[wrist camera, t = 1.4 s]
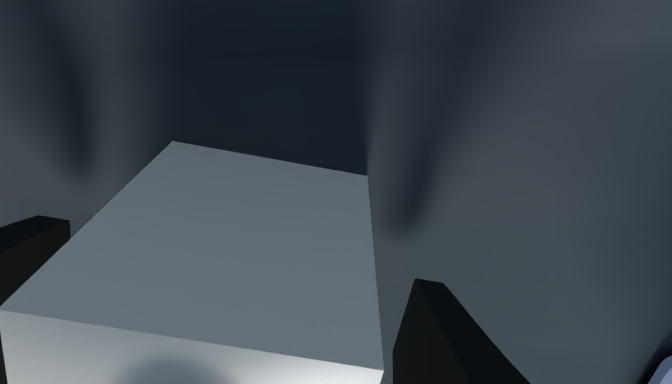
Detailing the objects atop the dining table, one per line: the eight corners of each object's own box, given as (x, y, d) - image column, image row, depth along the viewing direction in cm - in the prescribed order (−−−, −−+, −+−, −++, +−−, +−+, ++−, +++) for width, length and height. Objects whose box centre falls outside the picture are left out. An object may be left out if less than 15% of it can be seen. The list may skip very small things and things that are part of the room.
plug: (367, 175, 11) (390, 445, 5) (332, 326, 13) (316, 664, 7) (173, 140, 11) (-73, 376, 5) (166, 298, 13) (-15, 623, 6)
